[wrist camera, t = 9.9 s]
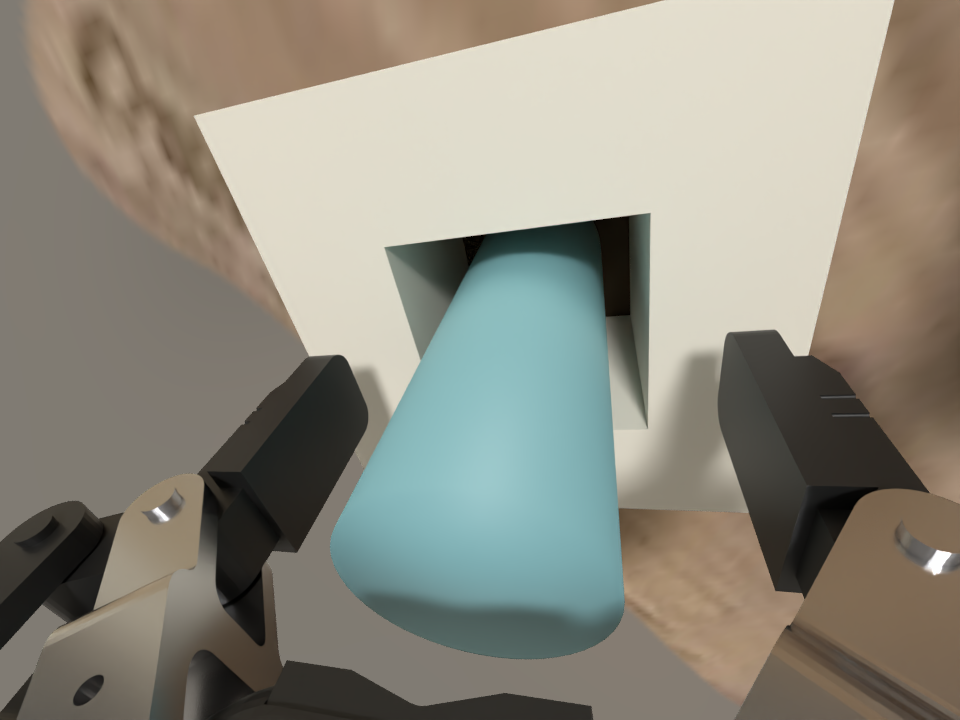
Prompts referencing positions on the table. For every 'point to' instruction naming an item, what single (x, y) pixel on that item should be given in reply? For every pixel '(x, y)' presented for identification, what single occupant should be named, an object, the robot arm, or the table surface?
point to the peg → (500, 464)
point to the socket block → (575, 199)
